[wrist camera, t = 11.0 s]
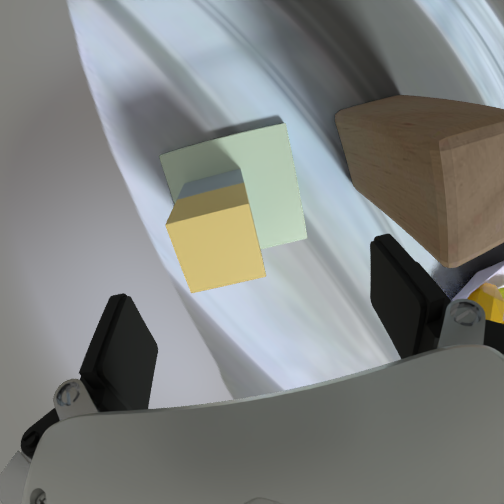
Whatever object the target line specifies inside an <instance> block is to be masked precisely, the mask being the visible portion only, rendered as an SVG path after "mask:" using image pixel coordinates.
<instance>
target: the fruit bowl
mask: <svg viewBox="0 0 504 504" xmlns="http://www.w3.org/2000/svg"><path fill="white" fill-rule="evenodd" d="M456 299H469V300H473V301H475V302H476V303H478V304H479V305H480V306H481V307H482V308H483V310H484V311H485V316H486V319H487V320H491V321H494V322H498V323H502V324H504V261H502V262H500V263H497V264H495V265H493V266H491V267H488V268H486V269H484V270H481V271H479V272H477V273H476V274H475V275H474V276H473V277H472V278H471V280H470V281H469V282H468V283H467V284H466V285H465V286H464V287H463V288H462V290H461V291H460V292H459V293H458V294H457V295H456V296H455V297H454V298H453V299H452V300H451V302H452V301H454V300H456Z"/></svg>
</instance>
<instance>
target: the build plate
mask: <svg viewBox="0 0 504 504" xmlns="http://www.w3.org/2000/svg"><path fill="white" fill-rule="evenodd" d="M159 158H160V161H161V164H162V167H163V170H164V173H165V177H166V180H167V183H168V186H169V189H170V192H171V195H172V198H173V201H174V204H175V203H176V200H177V198H178V196H179V193H180V191H181V189H182V187H183V185H184V183H188V182H191V181H195V180H199V179H202V178H206V177H210V176H213V175H217V174H221V173H225V172H229V171H233V170H237V169H241V172H242V176H243V180H244V183H245V187H246V191H247V195H248V199H249V203H250V208H251V212H252V216H253V220H254V224H255V228H256V232H257V236H258V241H259V245H260V249H265V248H269V247H273V246H277V245H281V244H285V243H289V242H294V241H298V240H302V239H306V238H307V232H306V227H305V221H304V215H303V209H302V204H301V198H300V193H299V187H298V182H297V177H296V172H295V167H294V162H293V157H292V152H291V147H290V142H289V137H288V133H287V128H286V123H280V124H275V125H271V126H266V127H261V128H257V129H252V130H248V131H244V132H240V133H236V134H232V135H228V136H224V137H220V138H216V139H212V140H209V141H205V142H201V143H198V144H194V145H191V146H187V147H184V148H181V149H177V150H174V151H171V152H167V153H164V154H161V155H160V156H159Z"/></svg>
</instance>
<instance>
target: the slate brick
mask: <svg viewBox="0 0 504 504" xmlns="http://www.w3.org/2000/svg"><path fill="white" fill-rule="evenodd" d="M240 183H244V180H243V176H242V172H241V169H237V170H233V171H229V172H225V173H221V174H217V175H213V176H210V177H206V178H202V179H199V180H195V181H191V182H188V183H184V185H183V187H182V189H181V191H180V193H179V196H178V198H177V200H178V199H182V198H185V197H189V196H193V195H196V194H200V193H204V192H208V191H212V190H216V189H219V188H223V187H227V186H231V185H236V184H240ZM177 200H176V201H177Z"/></svg>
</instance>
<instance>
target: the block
mask: <svg viewBox="0 0 504 504" xmlns="http://www.w3.org/2000/svg"><path fill="white" fill-rule="evenodd" d="M335 123H336V126H337V129H338V133H339V136H340V139H341V143H342V146H343V150H344V153H345V157H346V160H347V164H348V168H349V171H350V175H351V179H352V183H353V186H354V187H355V188H356V190H357V191H359V192H360V193H361V194H362V195H364V196H365V197H366V198H367V199H368V200H370V201H371V202H372V203H373V204H375V205H376V206H377V207H378V208H379V209H381V210H382V211H383V212H384V213H385V214H386V215H388V216H389V217H390V218H391V219H392V220H393V221H395V222H396V223H397V224H398V225H399V226H400V227H402V228H403V229H404V230H405V231H406V232H407V233H408V234H409V235H411V236H412V237H413V238H414V239H415V240H416V241H417V242H418V243H419V244H420V245H422V246H423V247H424V248H425V249H426V250H427V251H428V252H429V253H430V254H431V255H432V256H433V257H434V258H435V259H436V260H437V261H438V262H440V263H441V264H442V265H443V266H444V267H447V268H456V267H458V266H460V265H462V264H464V263H466V262H468V261H470V260H472V259H474V258H476V257H477V256H479V255H481V254H483V253H485V252H487V251H489V250H491V249H492V248H494V247H496V246H498V245H500V244H502V243H503V242H504V109H500V108H495V107H490V106H485V105H480V104H474V103H468V102H461V101H454V100H447V99H439V98H430V97H420V96H408V95H396V96H392V97H388V98H384V99H380V100H376V101H372V102H368V103H364V104H361V105H357V106H353V107H350V108H346V109H343V110H340V111H339V112H337V113H336V114H335Z"/></svg>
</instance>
